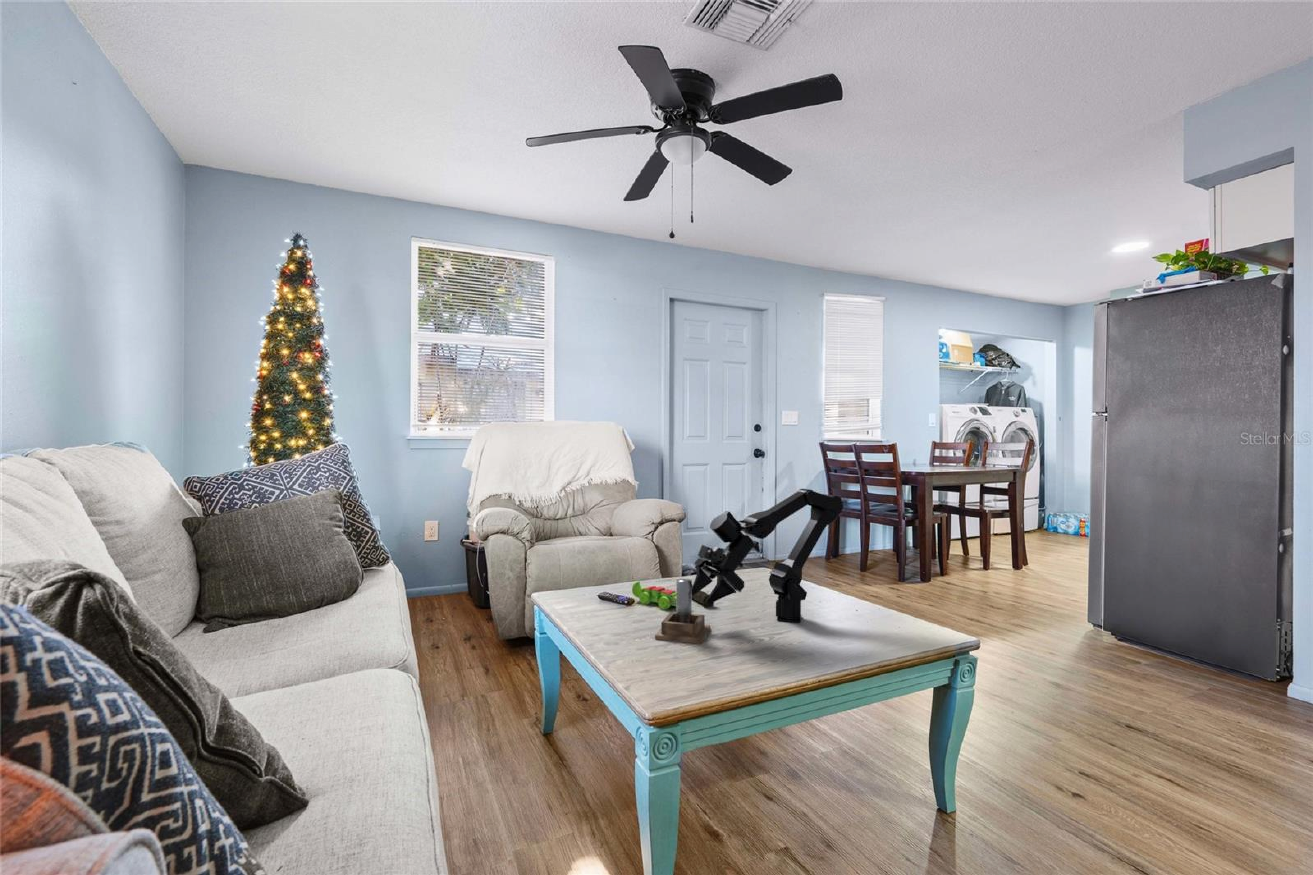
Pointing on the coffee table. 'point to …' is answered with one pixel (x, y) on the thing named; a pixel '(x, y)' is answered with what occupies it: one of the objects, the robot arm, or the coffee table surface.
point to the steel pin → (683, 600)
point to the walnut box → (683, 629)
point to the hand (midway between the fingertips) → (698, 598)
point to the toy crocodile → (655, 595)
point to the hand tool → (702, 598)
